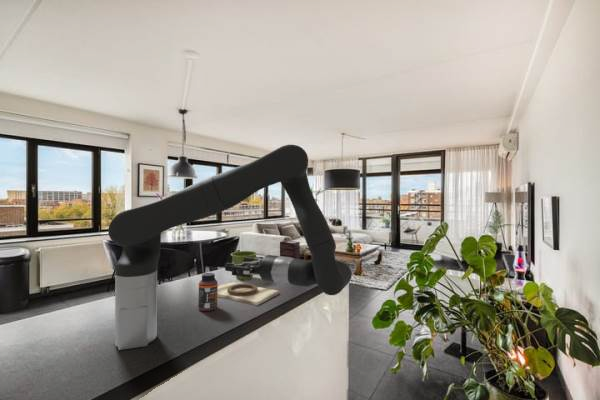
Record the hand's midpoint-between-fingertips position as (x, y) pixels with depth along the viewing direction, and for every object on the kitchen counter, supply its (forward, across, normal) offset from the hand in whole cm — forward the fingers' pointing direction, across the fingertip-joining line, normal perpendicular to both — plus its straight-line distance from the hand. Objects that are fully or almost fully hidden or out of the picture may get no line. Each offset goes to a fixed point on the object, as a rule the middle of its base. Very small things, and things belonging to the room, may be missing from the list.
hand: (235, 263), depth 89 cm
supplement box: (+8, -48, +16) cm, 51 cm away
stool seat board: (+11, -17, +16) cm, 26 cm away
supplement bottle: (+11, 0, +16) cm, 20 cm away
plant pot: (+24, -34, +16) cm, 44 cm away
